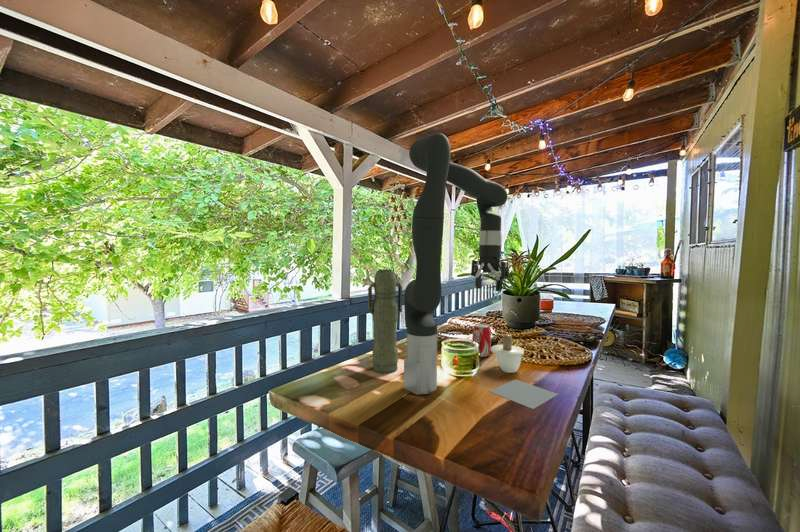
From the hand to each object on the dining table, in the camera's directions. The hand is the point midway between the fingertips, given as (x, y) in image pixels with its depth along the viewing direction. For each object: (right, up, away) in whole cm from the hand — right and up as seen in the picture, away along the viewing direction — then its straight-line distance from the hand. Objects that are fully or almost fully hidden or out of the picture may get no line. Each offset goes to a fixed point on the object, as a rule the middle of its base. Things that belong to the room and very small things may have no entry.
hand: (488, 289), depth 120 cm
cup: (+6, -28, -2) cm, 29 cm away
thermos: (-37, -28, -1) cm, 46 cm away
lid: (+6, -21, -2) cm, 22 cm away
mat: (+5, -29, -21) cm, 36 cm away
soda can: (+1, -27, +15) cm, 31 cm away
